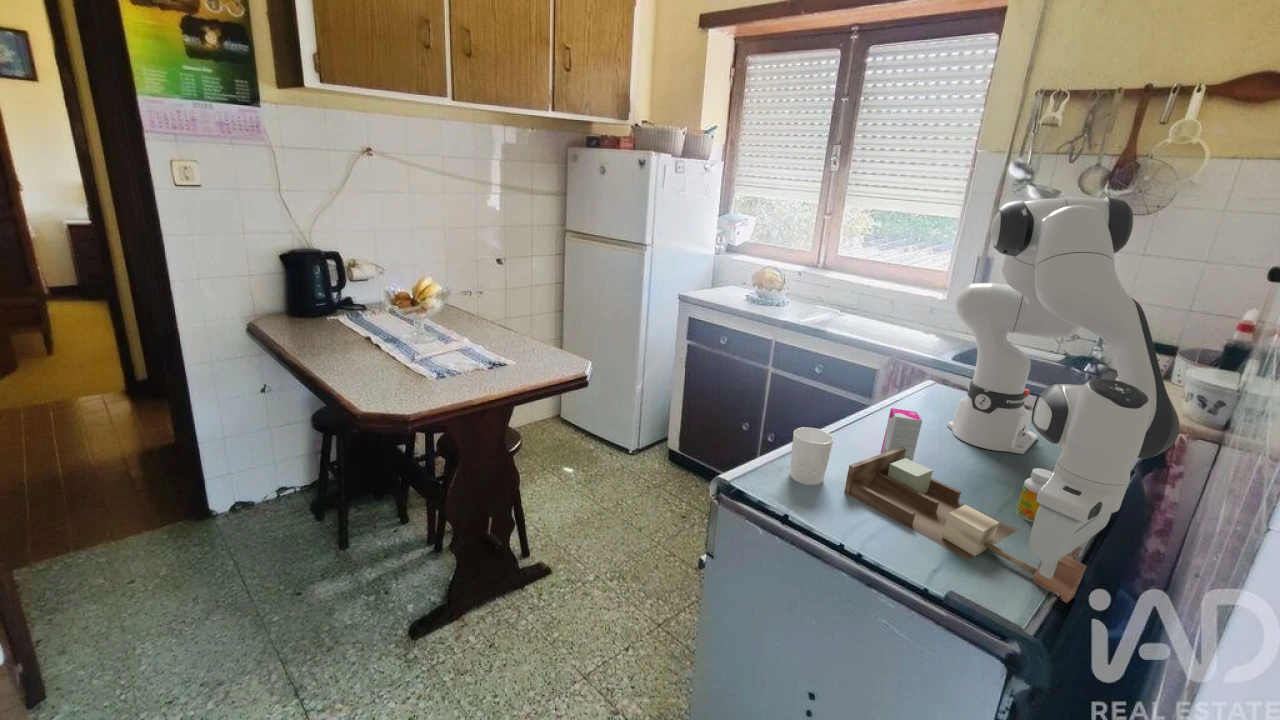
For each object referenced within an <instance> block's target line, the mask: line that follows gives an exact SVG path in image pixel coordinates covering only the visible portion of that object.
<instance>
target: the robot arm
mask: <svg viewBox="0 0 1280 720" xmlns="http://www.w3.org/2000/svg"><path fill="white" fill-rule="evenodd" d="M1134 224H1135V223H1134V214H1133V209H1132V207H1131V206H1130V204H1129V203H1128V202H1127V201H1125V200H1124V199H1120V198H1114V197H1107V196H1106V197H1102V198H1098V197H1097V198H1095V197H1078V196H1077V197H1076V196H1071V197H1070V196H1063V197H1060V198H1059V197H1058V198H1057V197H1056V198H1054V197H1053V198H1042V199H1034V200H1033V199H1032V200H1026V201H1025V200H1023V199H1021V200H1015V201H1010V202H1006V203H1005V204H1003V205H1001V206H1000V208H998V210H997V212H996V214H995V216H994V218H993V220H992V222H991V226H990V238H991V239H990V240H991V241H992V243H993V244H992V245H993V248H994V249H995V250H996V251H997V252H998V253H999V254H1001V255H1004V259H1003V263H1002V266H1001V267H1002V268H1001V272H1002V276H1003V278H1004V279H1005V282H1006V283H1007V284H1004V283H996V282H981V283H980V282H978V283H970V284H969V285H967V286H966V287H965V288H964V289H963V290H961V292H960V293H959V295H958V298H957V300H956V305H955V306H956V313H957V315H958V317H959V319H960V321H961V322H962V323H964V325H965V326H967V328H968V329H969V331H971V333H972V335H973V336H974V337H973V338H975V344H976V348H977V357H976V362H975V363H976V364H975V369H974V374H973V378H972V379H971V381H970V382H969V384H968V388H967V396H965V397H963V398H961V399H960V401H959V404H958V406H957V410H956V412H955V416H954V419H953V420H950V421H948V422H947V424H946V426H947V427H948V428H949V429H950V430H951V432H952V434H953V435H954V436H955V437H956V438H957V439H959V440H961V441H963V442H965V443H967V444H969V445H972V446H975V447H978V448H982V449H985V450H989V451H990V450H992V451H996V452H997V451H999V452H1007V453H1014V454H1019V455H1024V454H1025V453H1026V452H1027V451H1028V450H1029V448H1030V447H1031V446H1033V444H1034V443H1035V442H1036V441H1037V439H1038V435H1037V434H1036V433H1034V432H1032V431H1031V430H1030V429H1029V428H1030V424H1032V426H1033V427H1034V428H1035V430H1036V431H1037V432H1038V433H1039V434H1040V436H1041V437H1043V438H1044V439H1045V440H1046V441H1048V442H1050V443H1051V444H1055V445H1058V446H1059V447H1060V449H1061V450H1060V451H1061V452H1060V454H1059V456H1058V457H1057V459H1056V461H1055V464H1054V468H1053V470H1052V471H1051V472H1052V473H1051V476H1050V479H1049V480H1048V481H1047V482H1046V484H1045V485H1044V486H1043V487H1042V488H1041V489H1040V491H1039V492H1038V495H1037V499H1036V501H1037V502H1038V503H1040V504H1041V505H1040V507H1039V508H1038V510H1037V513H1036V516H1035V519H1034V522H1032V527H1031V532H1030V537H1029V541H1028V548H1029V549H1028V550H1029V552H1030V553H1031V554H1032V555H1033V556H1036V557H1037V558H1039V559H1040V562H1041V566H1040V570H1039V573H1040V574H1041V575H1043V576H1045V577H1047V578H1049V579H1051V578H1052V577H1054V576H1055V575H1056V572H1057V570H1058V567H1057V563H1058V561H1060V560H1061V559H1062V558H1064V557H1065V556H1068V557H1070V558H1072V559H1074V560H1076V559H1078V558H1080V557H1081V556H1082V555H1083V552H1084V550H1085V547H1086V546H1087V544H1088V543H1089V541H1090V540H1091V538H1093V537H1094V536H1095V535H1097V534H1098V533H1099V532H1101V531H1102V530H1103V529H1104V528H1105V527H1106V526H1107V525H1108V523H1109V521H1110V518H1111V516H1112V514H1114V513H1116V512H1118V511H1119V510H1120V509H1121V506H1122V503H1123V500H1124V498H1125V494H1126V491H1127V489H1128V486H1129V483H1130V481H1131V467H1132V464H1133V463H1134V461H1135V460H1136V459H1137V458H1139V459H1142V460H1148V459H1152V458H1153V457H1155V456H1158V455H1161V454H1162V453H1164V452H1165V451H1167V450H1168V449H1169V448H1170V447H1172V446H1173V444H1175V443H1176V441H1177V439H1178V437H1179V434H1180V426H1181V425H1180V419H1179V416H1178V412H1177V410H1176V409H1175V406H1174V404H1173V402H1172V400H1171V399H1170V397H1169V395H1168V392H1167V389H1166V386H1165V382H1164V379H1163V375H1162V374H1163V373H1162V370H1161V367H1160V363H1159V360H1158V356H1157V353H1156V349H1155V344H1154V341H1153V338H1152V334H1151V329H1150V327H1149V324H1148V320H1147V317H1146V314H1145V311H1144V309H1143V307H1142V306H1141V304H1140V303H1139V302H1138V301H1137V300H1135V299H1134V298H1133V297H1131V296H1130V295H1129V294H1128V292H1127V291H1126V290H1125V288H1124V286H1122V283H1121V282H1120V280H1119V278H1118V274H1117V273H1116V266H1115V254H1117V253H1118V252H1120V250H1122V249H1123V248H1125V246H1126V245H1127V244H1128V243H1129V239H1130V236H1131V235H1132V232H1133V230H1134V229H1133V228H1134ZM1080 328H1083V329H1085V330H1087V331H1088V332H1090V333H1092V334H1094V335H1096V336H1097V337H1099V338H1100V339H1101V340H1102V341H1104V342H1105V343H1106V344H1107V346H1108V347H1109V348H1110V351H1111V352H1112V356H1113V360H1114V365H1115V367H1116V373H1117V377H1118V380H1116V379H1109V378H1096V379H1090V380H1087V382H1085V383H1084V384H1069V383H1059V384H1057V383H1054V384H1052V385H1050V386H1048V387H1046V388H1045V389H1044V390H1042V391H1041V392H1040V393H1039V394H1038V395H1037V396H1036V399H1035V401H1034V404H1033V408H1032V413H1031V415H1030V413H1029V412H1028V411H1027V409H1026V408H1025V401H1026V398H1028V397H1029V396H1030V394H1031V393H1030V392H1031V390H1030V389H1027V388H1026V385H1027V381H1028V378H1029V374H1030V370H1031V367H1032V366H1031V365H1032V363H1031V359H1030V357H1029V355H1027V354H1026V352H1025V351H1023V350H1021V349H1020V348H1018V347H1017V346H1015V345H1013V343H1011V342H1010V341H1009V339H1008V337H1007V335H1008V334H1019V335H1025V336H1030V337H1038V338H1044V339H1045V338H1046V339H1050V338H1051V339H1052V338H1053V339H1063V338H1069V337H1071V336H1073V335H1074V334H1076V333H1077V332H1078V331H1079V330H1080Z"/></svg>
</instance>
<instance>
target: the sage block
mask: <svg viewBox="0 0 1280 720" xmlns="http://www.w3.org/2000/svg"><path fill="white" fill-rule="evenodd" d="M933 472H934V470H933V469H932V468H930V467H929V468H928V467H927V466H924V465H922V464H921V463H918V462H916V461H914V460H913V461H911V460H909V459H907V458H904V459H902V460H899V461H896V462H894V463H891V464H890V466H889V471H888V477H890V478H892V479H894V480H896V481H898V482H900V483H902V484H904V485H906V486H908V487H910V488H912V489H914V490H916V491H918V492H920V493H922V494H924V493H927V492H928V488H929V484H930V480H931V478H932V475H933Z"/></svg>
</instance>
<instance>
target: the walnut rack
mask: <svg viewBox="0 0 1280 720" xmlns="http://www.w3.org/2000/svg"><path fill="white" fill-rule="evenodd" d="M905 452H906V448H904V447H900V448H897V449H894V450H891V451H888V452H886V453H883V454H881V453H880V454H877V455H875V456H872V457H869V458H865V459H863V460H860V461H857V462H854V463H852V464H849V465H848V471H847V475H846V480H845V486H844V490H843V491H844V493H845V494H847V495H849V496H850V497H852V498H855V499H856V500H858V501H860V502H861V503H863V504H865V505H867V506H868V507H871V509H874V510H875V511H878V512H880V513H882V514H884V515H885V516H887V517H888V518H890V519H892V520H893V521H896V522H898V523H899V524H901V525H903V526H905V527H906V528H908V529H911V530H913V531H914V532H916V533H917V534H919V535H921V536H922V537H923V536H924V537H925V538H927V539H928V540H930V541H932V542H933V543H936V544H938V545H939V546H941V547H943V548H945V549H947V550H948V551H950V552H952V553H954V554H956V555H958V556H959V557H961V558H963V559H964V560H966V561H968V560H970V559H972V558H973V557H975V556H973V555H972V554H970V553H968V552H967V551H965V550H963V549H961V548H960V547H958V546H956V545H955V544H953V543H951V542H950V541H948V540H946V539H944V538H943V537H941V536H942V533H943V530H944V527H945V524H946V520H947V517H948V514H949V513H950V512H952V511H954V510H956V509H958V508H960V507H962V506H964V505H966V504H964V503H962V502H960V497H961V493H962V490H958V489H957V488H955V487H952V486H950V485H949V484H946V483H943V482H941V481H939V480H937V479H935V478H933V477H931V480H930V484H929V488H928V492H927V493H924V494H922V493H920V492H918V491H916V490H914V489H912V488H910V487H908V486H906V485H904V484H902V483H900V482H898V481H896V480H894V479H892V478H890V477H888V471H889V466H890V464H891V463H894V462H896V461H899V460H902V459H904V456H905ZM979 512H980V513H982V514H984V515H986V516H988V517H990V518H992V519H994V520H996V521H997V522H999V525H998V528H997V531H996V534H995V537H994V539H993V542H992V545H994V546H995V545H996V544H997V543H999V542H1000V541H1002V540H1004V539H1006V538H1008V537H1010V535H1012V534H1013V533H1015V532H1017V531H1018V529H1016V528H1015V527H1013V526H1011V525H1008V524H1006V523H1004V522H1003V521H1000V520H998V519H996V518H994V517H992V516H989V515H987V514H986V513H983V512H981V511H979Z"/></svg>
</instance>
